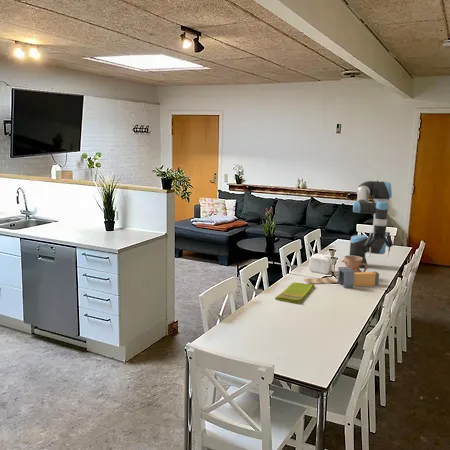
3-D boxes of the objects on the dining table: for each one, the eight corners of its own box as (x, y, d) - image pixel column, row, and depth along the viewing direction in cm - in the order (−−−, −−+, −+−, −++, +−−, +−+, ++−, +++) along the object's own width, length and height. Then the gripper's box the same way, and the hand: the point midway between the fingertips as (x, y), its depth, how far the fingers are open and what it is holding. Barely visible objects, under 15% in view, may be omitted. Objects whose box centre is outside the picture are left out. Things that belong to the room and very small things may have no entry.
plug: (374, 283, 309) (375, 271, 307) (378, 285, 305) (379, 273, 303) (349, 284, 305) (350, 272, 304) (353, 286, 301) (354, 274, 299)
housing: (345, 282, 308) (347, 265, 306) (353, 287, 298) (354, 270, 296) (337, 283, 307) (338, 266, 304) (344, 288, 296) (345, 270, 294)
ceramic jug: (336, 277, 319) (338, 257, 316) (341, 272, 332) (343, 253, 329) (363, 282, 311) (365, 262, 308) (367, 276, 324) (369, 257, 321)
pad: (331, 278, 316) (331, 277, 316) (337, 283, 306) (337, 282, 306) (303, 279, 312) (303, 278, 312) (309, 284, 302) (309, 283, 302)
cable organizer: (333, 271, 334) (334, 256, 332) (328, 275, 325) (329, 259, 323) (313, 268, 342) (314, 253, 339) (307, 271, 333) (308, 255, 331)
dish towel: (274, 300, 271) (274, 295, 270) (291, 284, 303) (292, 279, 302) (300, 305, 265) (300, 299, 264) (315, 288, 297) (315, 283, 296)
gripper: (393, 223, 310) (390, 254, 313) (360, 224, 303) (357, 255, 307) (400, 225, 302) (397, 257, 306) (366, 226, 296) (364, 258, 300)
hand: (377, 256), depth 306 cm, fingers open, 13 cm apart
